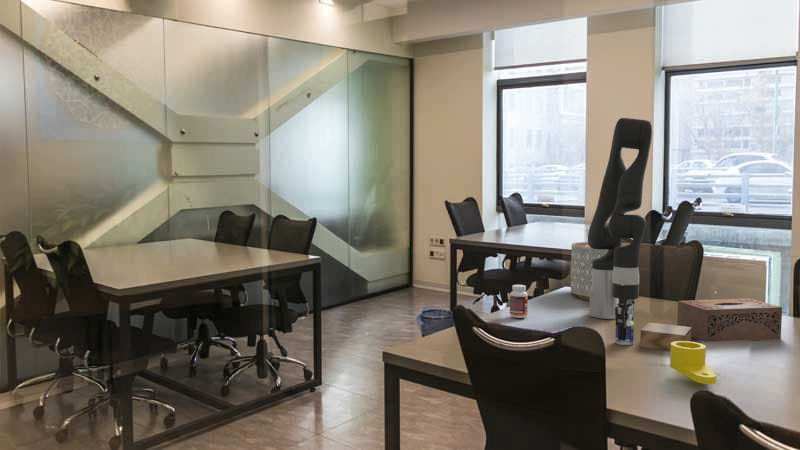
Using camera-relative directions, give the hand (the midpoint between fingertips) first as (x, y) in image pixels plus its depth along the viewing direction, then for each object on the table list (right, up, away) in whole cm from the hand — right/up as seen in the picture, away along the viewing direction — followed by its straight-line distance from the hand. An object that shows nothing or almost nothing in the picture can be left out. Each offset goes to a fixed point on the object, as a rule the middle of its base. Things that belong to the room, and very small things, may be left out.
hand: (624, 337), depth 196 cm
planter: (+15, +3, +70) cm, 71 cm away
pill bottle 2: (0, -2, 0) cm, 2 cm away
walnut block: (+12, -2, -2) cm, 12 cm away
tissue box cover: (+37, -1, +12) cm, 38 cm away
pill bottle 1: (-25, +1, +38) cm, 45 cm away
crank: (+8, -4, -29) cm, 30 cm away
